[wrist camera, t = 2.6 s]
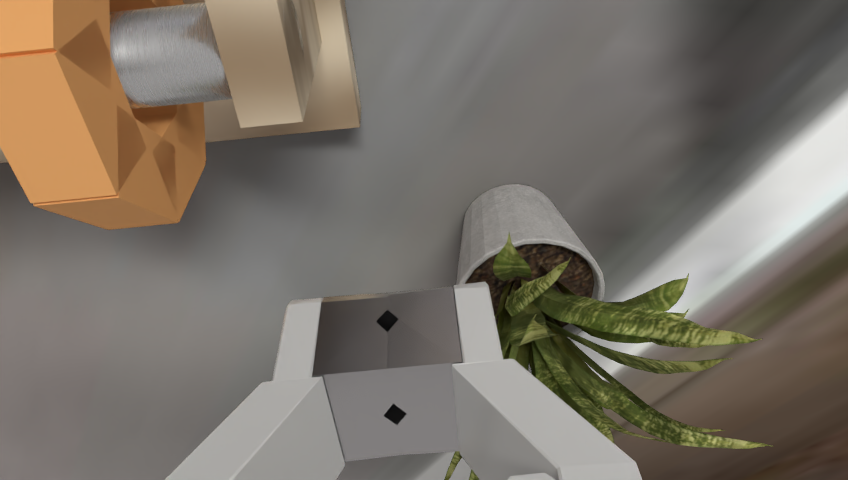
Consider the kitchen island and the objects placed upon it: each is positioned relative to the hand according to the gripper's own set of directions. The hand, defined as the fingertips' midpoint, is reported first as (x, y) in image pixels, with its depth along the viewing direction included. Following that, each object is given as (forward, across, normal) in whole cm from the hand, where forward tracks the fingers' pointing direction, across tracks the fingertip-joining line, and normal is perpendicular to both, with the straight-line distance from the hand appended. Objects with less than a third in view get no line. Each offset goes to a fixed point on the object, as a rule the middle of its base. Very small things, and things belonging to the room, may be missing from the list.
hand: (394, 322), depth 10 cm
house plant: (+21, -5, +15) cm, 26 cm away
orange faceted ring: (+18, +9, 0) cm, 20 cm away
